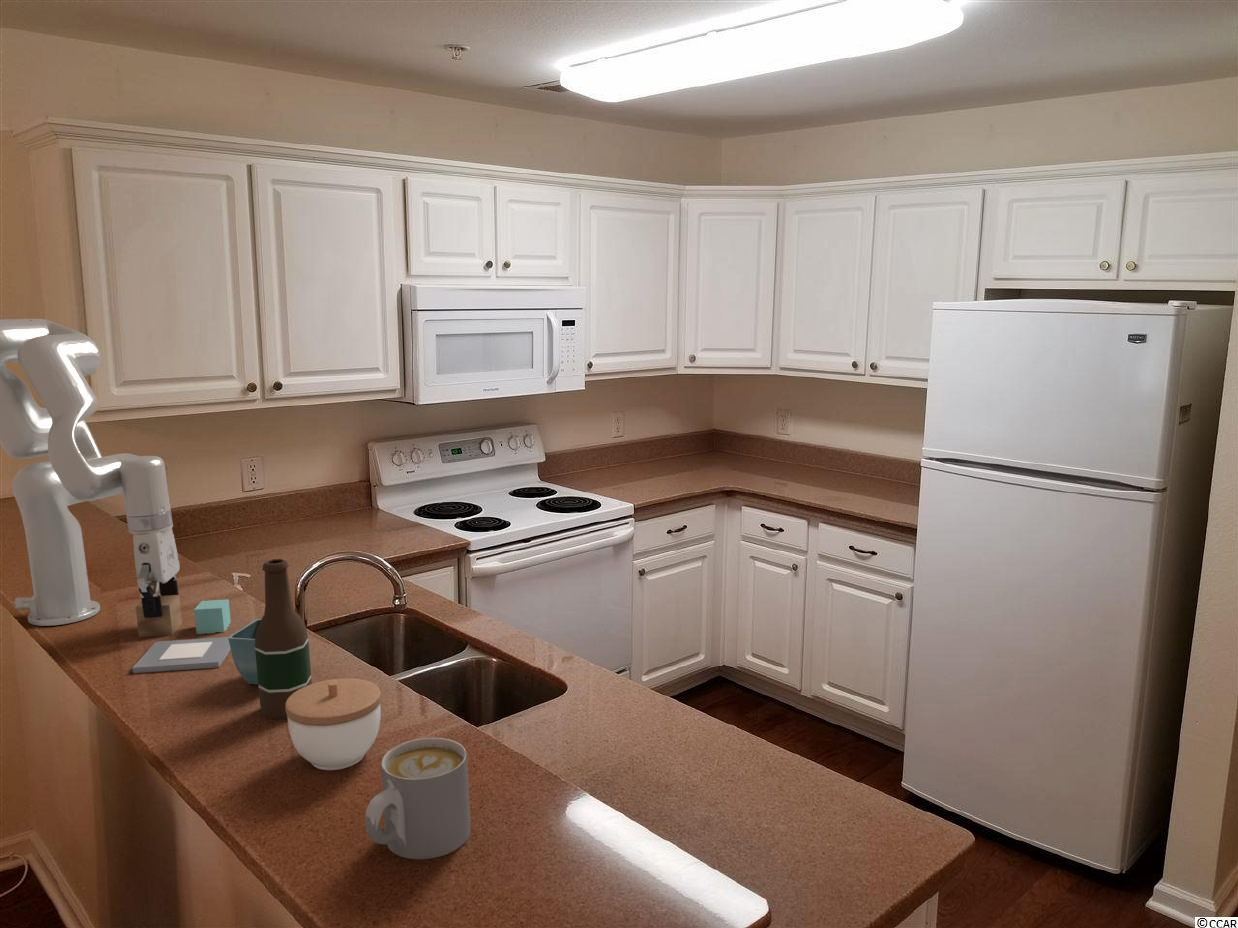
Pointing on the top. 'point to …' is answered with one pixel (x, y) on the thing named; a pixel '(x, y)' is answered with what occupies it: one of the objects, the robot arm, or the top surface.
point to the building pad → (184, 655)
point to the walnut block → (160, 618)
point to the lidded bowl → (334, 721)
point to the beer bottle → (280, 644)
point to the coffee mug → (422, 799)
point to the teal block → (212, 616)
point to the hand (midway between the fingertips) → (162, 608)
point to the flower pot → (245, 651)
